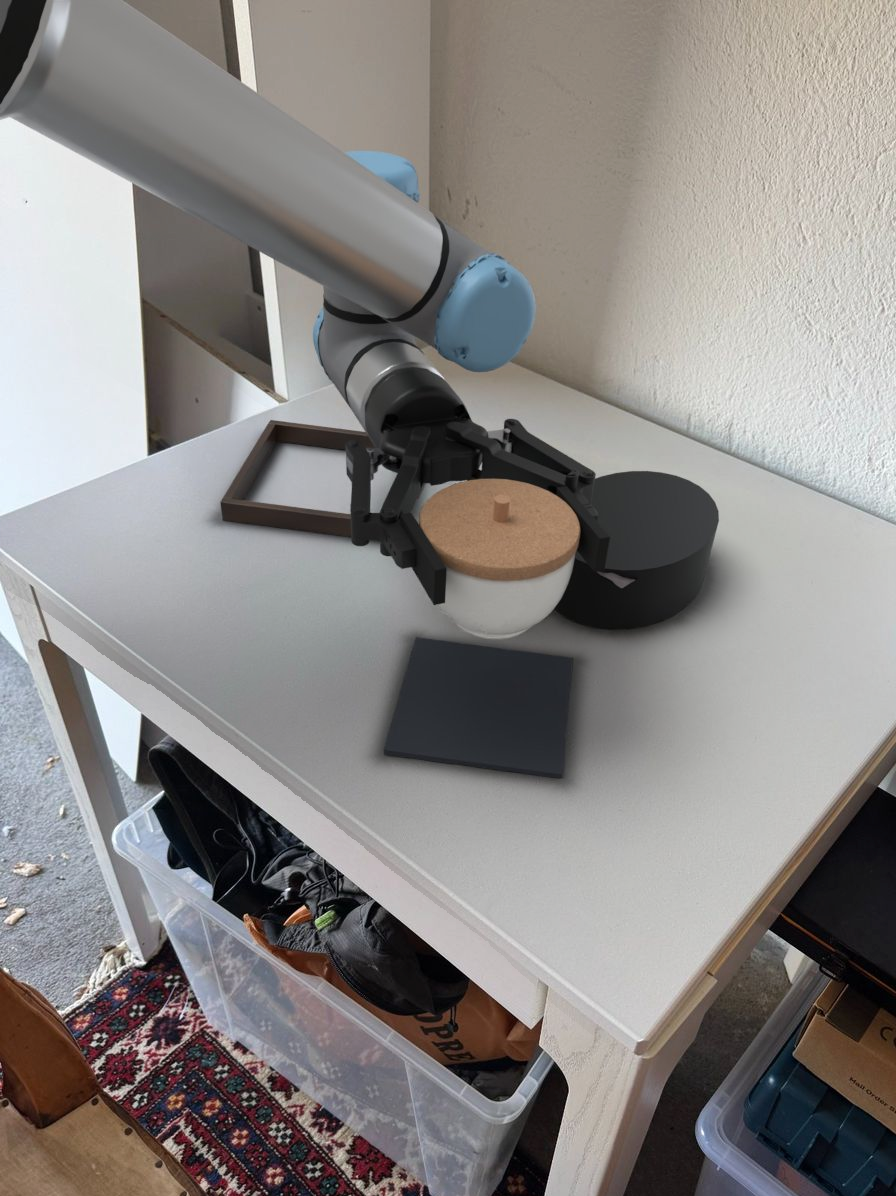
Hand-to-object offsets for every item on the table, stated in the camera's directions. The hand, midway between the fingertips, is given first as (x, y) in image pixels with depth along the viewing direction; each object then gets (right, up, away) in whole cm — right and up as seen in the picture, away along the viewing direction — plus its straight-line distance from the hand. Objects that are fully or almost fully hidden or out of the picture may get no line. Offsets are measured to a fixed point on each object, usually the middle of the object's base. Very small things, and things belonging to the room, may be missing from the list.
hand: (523, 570), depth 65 cm
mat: (-3, -9, +13) cm, 16 cm away
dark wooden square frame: (-19, +12, +35) cm, 41 cm away
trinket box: (-2, -2, +7) cm, 8 cm away
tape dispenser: (+9, +3, +28) cm, 29 cm away
